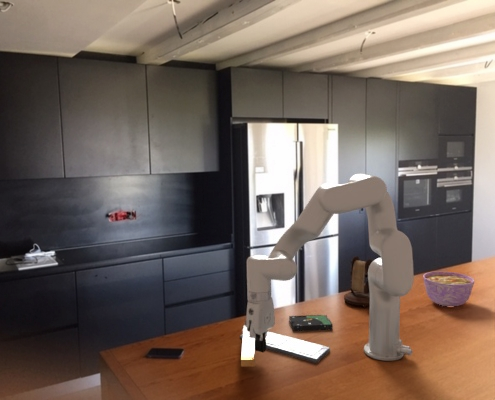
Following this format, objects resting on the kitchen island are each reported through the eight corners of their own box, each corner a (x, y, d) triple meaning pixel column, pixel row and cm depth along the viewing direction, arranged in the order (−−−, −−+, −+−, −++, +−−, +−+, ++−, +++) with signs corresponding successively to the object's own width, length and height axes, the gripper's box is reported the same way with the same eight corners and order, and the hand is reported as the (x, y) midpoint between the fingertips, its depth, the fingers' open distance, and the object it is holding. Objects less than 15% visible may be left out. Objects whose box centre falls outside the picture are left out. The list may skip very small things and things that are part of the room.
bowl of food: (476, 301, 202) (477, 275, 201) (469, 316, 185) (471, 287, 184) (427, 293, 213) (428, 269, 211) (417, 307, 196) (418, 280, 195)
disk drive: (293, 333, 172) (333, 331, 174) (293, 326, 172) (333, 323, 173) (288, 322, 183) (326, 320, 184) (288, 315, 182) (326, 313, 184)
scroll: (337, 302, 203) (337, 257, 200) (356, 295, 213) (357, 251, 210) (366, 311, 192) (367, 263, 189) (385, 303, 202) (387, 257, 199)
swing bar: (254, 371, 140) (254, 356, 139) (241, 371, 140) (240, 356, 140) (255, 332, 169) (254, 319, 169) (243, 332, 169) (243, 319, 169)
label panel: (329, 351, 156) (329, 346, 155) (316, 363, 147) (316, 358, 147) (251, 330, 174) (251, 326, 173) (235, 340, 165) (235, 335, 165)
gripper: (256, 304, 139) (257, 362, 141) (281, 290, 151) (282, 344, 153) (235, 299, 143) (237, 357, 145) (262, 286, 155) (263, 339, 157)
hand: (260, 350), depth 149 cm, fingers closed
